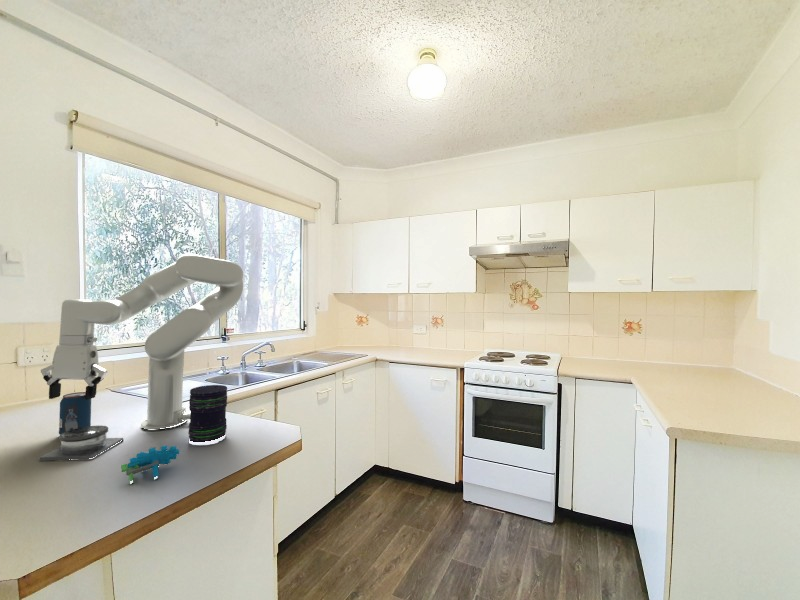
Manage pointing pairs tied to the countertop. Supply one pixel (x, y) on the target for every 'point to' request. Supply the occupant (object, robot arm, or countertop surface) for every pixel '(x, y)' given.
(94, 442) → the puck on square plate
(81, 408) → the soda can
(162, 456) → the blue toy dinosaur
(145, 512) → the countertop surface
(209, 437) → the storage jar
